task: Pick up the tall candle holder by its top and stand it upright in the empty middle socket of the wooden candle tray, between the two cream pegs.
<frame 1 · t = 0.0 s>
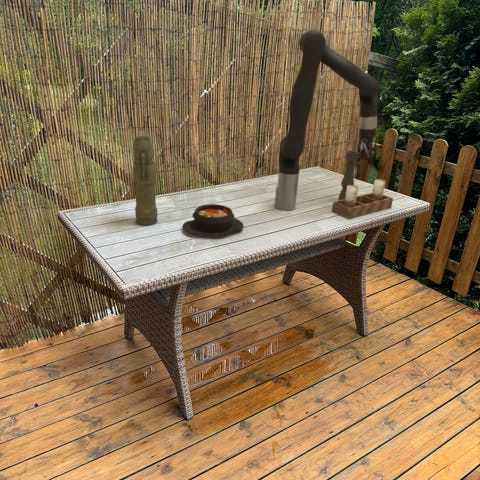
hand: (366, 162, 194), 22 cm above the table, tool pointing down, fingers open, 8 cm apart
candle holder: (344, 202, 211), on the table
wooden candle tray: (362, 209, 201), on the table
carved stone statue: (146, 222, 177), on the table
casserole: (213, 230, 173), on the table
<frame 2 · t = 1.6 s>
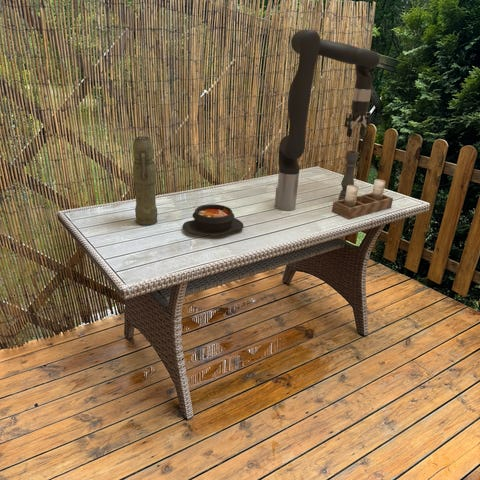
hand: (355, 135, 196), 33 cm above the table, tool pointing down, fingers open, 8 cm apart
nothing on the table moved.
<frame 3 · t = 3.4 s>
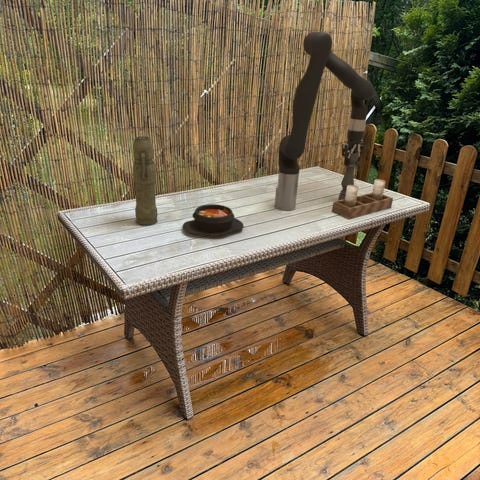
hand: (350, 164, 202), 19 cm above the table, tool pointing down, fingers closed on candle holder, 5 cm apart
candle holder: (344, 202, 211), on the table, touching gripper
everything else where it was.
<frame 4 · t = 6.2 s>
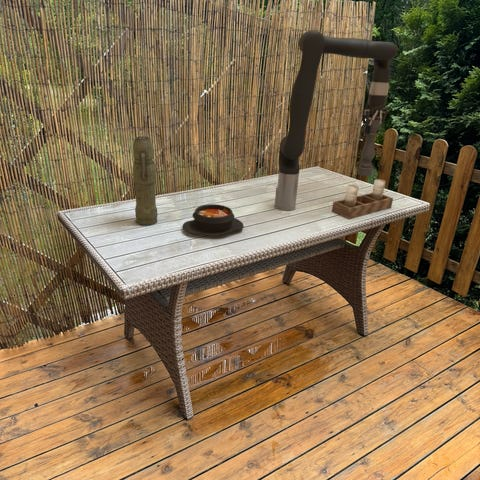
hand: (371, 133, 188), 36 cm above the table, tool pointing down, fingers closed on candle holder, 5 cm apart
candle holder: (364, 174, 197), point 16 cm above the table, touching gripper
everything else where it was.
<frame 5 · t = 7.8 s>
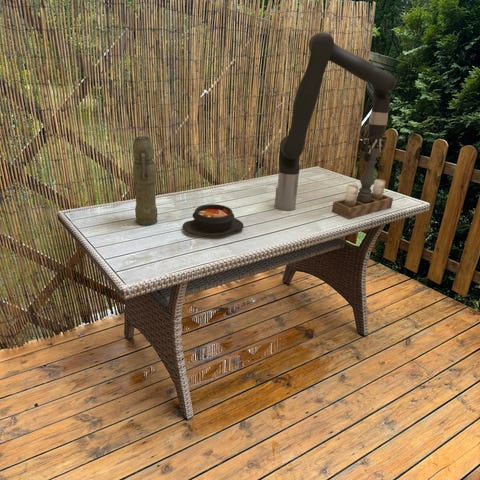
hand: (370, 160, 191), 24 cm above the table, tool pointing down, fingers closed on candle holder, 5 cm apart
candle holder: (363, 200, 199), point 5 cm above the table, touching gripper
everything else where it was.
when the fingers open (21 cm above the table, at t = 9.0 s): candle holder stays where it is, resting on wooden candle tray.
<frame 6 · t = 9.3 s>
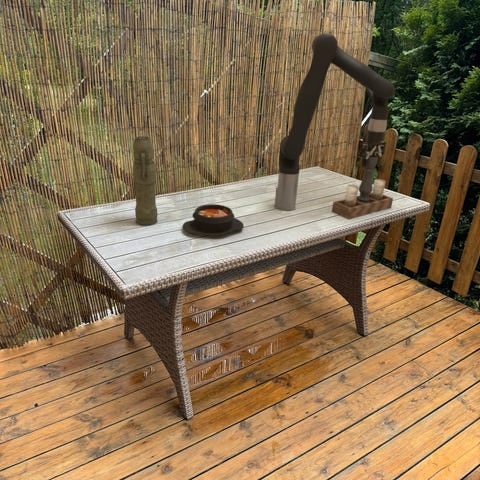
hand: (370, 165, 192), 22 cm above the table, tool pointing down, fingers open, 8 cm apart
candle holder: (362, 208, 201), point 1 cm above the table, touching wooden candle tray
everything else where it was.
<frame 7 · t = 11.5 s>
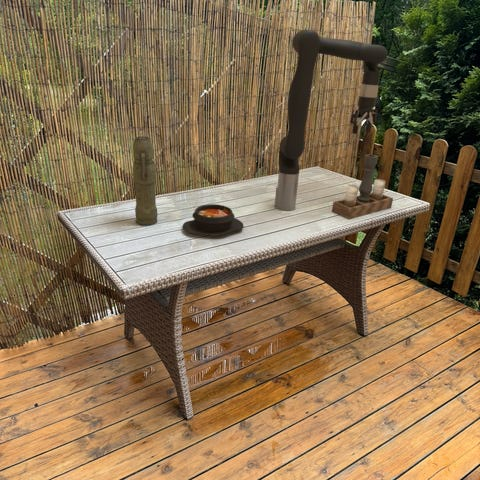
hand: (361, 133, 191), 35 cm above the table, tool pointing down, fingers open, 8 cm apart
nothing on the table moved.
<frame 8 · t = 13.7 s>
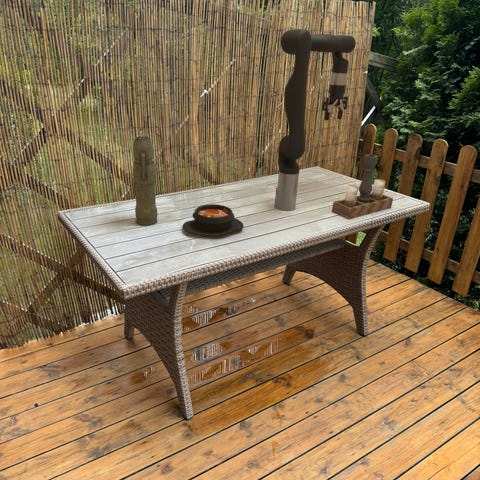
hand: (333, 119, 201), 38 cm above the table, tool pointing down, fingers open, 8 cm apart
nothing on the table moved.
at the end: candle holder 0.1 cm off-centre on the wooden candle tray, point 0.8 cm above the wooden candle tray's base; candle holder tilted 0°; the gripper is holding nothing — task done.
